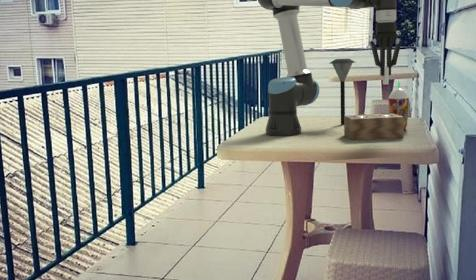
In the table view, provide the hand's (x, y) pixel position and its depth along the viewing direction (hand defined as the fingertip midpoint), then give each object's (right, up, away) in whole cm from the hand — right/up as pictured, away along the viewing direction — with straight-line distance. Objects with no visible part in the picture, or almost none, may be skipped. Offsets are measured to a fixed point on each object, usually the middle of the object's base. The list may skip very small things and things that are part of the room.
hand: (385, 84), depth 205 cm
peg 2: (+1, -20, +3) cm, 20 cm away
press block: (-4, -20, +3) cm, 21 cm away
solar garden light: (-9, -15, +39) cm, 43 cm away
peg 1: (-9, -20, +3) cm, 23 cm away
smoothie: (+10, -17, +17) cm, 27 cm away
